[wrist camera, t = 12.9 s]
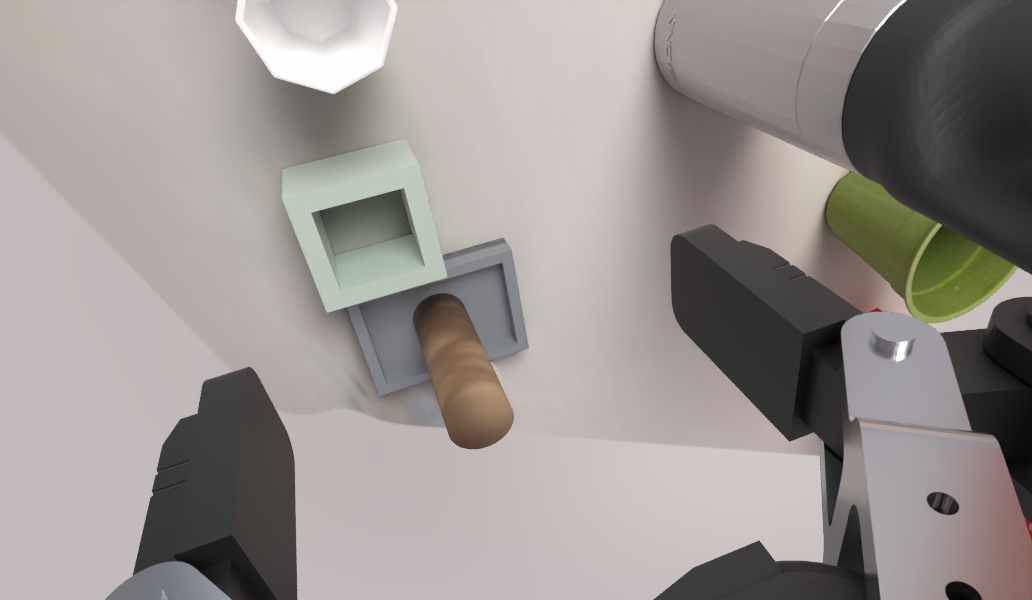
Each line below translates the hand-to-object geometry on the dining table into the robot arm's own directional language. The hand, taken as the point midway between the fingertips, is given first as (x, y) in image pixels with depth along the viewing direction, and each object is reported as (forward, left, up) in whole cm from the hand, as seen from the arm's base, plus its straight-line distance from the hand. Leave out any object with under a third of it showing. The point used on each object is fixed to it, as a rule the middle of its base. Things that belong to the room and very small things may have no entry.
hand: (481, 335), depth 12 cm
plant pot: (-39, +21, -30) cm, 54 cm away
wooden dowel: (-1, +19, -29) cm, 35 cm away
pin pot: (+2, +10, -30) cm, 32 cm away
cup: (+2, -4, -30) cm, 31 cm away
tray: (-1, +19, -30) cm, 36 cm away
